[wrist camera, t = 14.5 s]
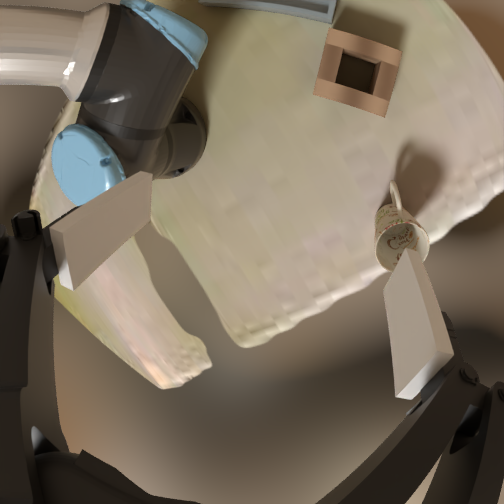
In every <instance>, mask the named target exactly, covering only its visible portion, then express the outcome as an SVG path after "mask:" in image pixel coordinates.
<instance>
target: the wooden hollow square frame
mask: <svg viewBox="0 0 504 504" xmlns="http://www.w3.org/2000/svg"><path fill="white" fill-rule="evenodd" d="M342 54H345V55H349V56H352V57H355V58H358V59H361V60H364V61H367V62H370V63H373V64H375V66H374V70H373V74H372V78H371V82H370V86H369V90H368V93H365V92H362V91H359V90H356V89H353V88H350V87H346V86H343V85H340V84H337V83H335V80H336V76H337V72H338V68H339V64H340V60H341V56H342ZM401 56H402V51H399V50H397V49H394V48H392V47H389V46H386V45H384V44H381V43H378V42H375V41H372V40H369V39H366V38H363V37H360V36H357V35H353V34H350V33H347V32H343V31H340V30H336V29H332V28H329V30H328V34H327V38H326V42H325V47H324V51H323V55H322V59H321V63H320V67H319V71H318V75H317V80H316V84H315V88H314V92H313V95H317V96H320V97H324V98H327V99H331V100H334V101H337V102H341V103H344V104H347V105H350V106H353V107H356V108H359V109H362V110H365V111H368V112H371V113H374V114H376V115H379V116H382V117H384V118H385V115H386V112H387V109H388V105H389V102H390V98H391V94H392V91H393V87H394V83H395V80H396V76H397V72H398V68H399V64H400V60H401Z"/></svg>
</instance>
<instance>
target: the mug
mask: <svg viewBox="0 0 504 504" xmlns="http://www.w3.org/2000/svg"><path fill="white" fill-rule="evenodd" d="M390 194H391V199H392V203H393V204H387V205H385V206H383V207H381V208H380V209H379V211H378V212H377V214H376V217H375V256H376V259H377V261H378V262H379V264H380V265H381V266H382V267H383V268H384V269H386V270H387V271H390V272H393V271H394V269H395V267H396V265H397V263H398V261H399V259H400V258H401V256H402V253H403V251H404V249H405V248H408V249H411V250H414V251H417V252H418V253H419V255H420V257H421V260H422V262H424V260H425V259H426V257H427V255H428V252H429V238H428V235H427V233H426V232H425V230H424V229H423V228H422V226H421V225H420V224H419V223H418V222H417V221H416V220H415V219H414V218H413V217H412V216H411V215H410V214H409V213H408V212H407V211H406V210H405V209H404V208H403V207H402V204H401V198H400V194H399V191H398V187H397V185H396V183H395V181H393V180H392V181H391V182H390Z"/></svg>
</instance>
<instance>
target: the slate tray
mask: <svg viewBox="0 0 504 504" xmlns="http://www.w3.org/2000/svg"><path fill="white" fill-rule="evenodd" d="M198 2H199V3H201V4H203V5H204V6H214V7H231V8H242V9H252V10H260V11H268V12H274V13H281V14H286V15H292V16H297V17H302V18H307V19H312V20H316V21H320V22H325V23H329V24H332V21H333V16H334V12H335V8H336V3H337V0H199V1H198Z"/></svg>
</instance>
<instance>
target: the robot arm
mask: <svg viewBox="0 0 504 504" xmlns="http://www.w3.org/2000/svg"><path fill="white" fill-rule="evenodd" d="M207 44H208V37H207V34H206V33H205V31H204V30H203V29H201V28H200V27H199V26H197V25H195V24H194V23H192V22H190V21H189V20H187V19H185V18H183V17H181V16H180V15H178V14H176V13H174V12H172V11H170V10H167V9H165V8H163V7H161V6H158V5H155V4H153V3H151V2H148V1H146V0H121V1H120V5H116V4H111V3H107V2H104V3H102V4H100V5H98V6H96V7H94V8H92V9H90V10H89V11H86V12H82V11H75V10H68V9H60V8H51V7H40V6H22V5H0V84H24V85H49V86H59V87H60V88H62V89H63V91H64V92H65V94H66V95H67V97H68V98H69V100H70V101H75V102H82V103H81V106H80V110H79V113H78V117H77V120H76V123H75V124H71V125H68V126H67V127H65V129H64V130H63V131H61V132H60V133H59V134H58V135H57V137H56V138H55V140H54V143H53V147H52V157H51V158H52V167H53V171H54V174H55V177H56V180H57V181H58V183H59V185H60V188H61V189H62V191H63V192H64V194H65V195H66V196H67V197H68V198H69V200H70V201H72V202H73V203H74V204H75V205H77V207H75V208H73V209H71V210H70V211H68V212H67V214H66V213H65V214H64V215H62V216H61V218H60V217H59V218H58V219H56V220H55V221H53V222H52V223H50V224H49V225H48V226H46V227H45V228H43V229H42V224H41V218H40V213H39V212H38V211H36V210H25V211H22V212H19V213H17V214H16V215H15V216H14V217H13V218H12V219H11V222H12V227H13V232H14V236H8V235H7V231H6V227H5V226H4V225H1V224H0V504H200V503H197V502H193V501H184V500H177V499H170V498H163V497H158V496H153V495H150V494H148V493H146V492H145V491H144V490H142V489H141V488H140V487H138V486H137V485H136V484H134V483H133V482H132V481H131V480H129V479H128V478H127V477H125V476H124V475H123V474H122V473H121V472H119V471H118V470H117V469H116V468H114V467H112V466H111V465H109V464H107V463H105V462H103V461H101V460H100V459H98V458H96V457H94V456H93V455H91V454H89V453H87V452H86V451H84V450H82V451H81V453H80V454H76V453H71V452H69V449H68V445H67V443H66V440H65V437H64V435H63V433H62V430H61V426H60V421H59V413H58V406H57V397H56V386H55V373H54V353H53V307H54V287H55V285H54V280H53V278H54V277H55V276H56V275H57V274H59V278H60V282H61V285H63V286H65V287H67V288H69V289H71V290H73V291H74V290H75V289H76V288H77V287H78V286H79V285H80V284H81V283H82V282H83V281H84V280H85V279H87V278H88V277H89V276H90V275H91V274H92V273H93V272H94V271H95V270H96V269H97V268H98V267H99V266H100V265H101V264H102V263H103V262H104V261H105V260H106V259H108V258H109V257H110V256H111V255H112V254H113V253H114V252H115V251H116V250H117V249H118V248H120V247H121V246H122V245H123V244H124V243H125V242H126V241H127V240H128V239H130V238H131V237H132V236H133V235H134V234H135V233H136V232H137V231H139V230H140V229H141V228H142V227H143V226H144V225H145V224H147V223H148V222H149V221H150V220H151V194H152V181H153V180H154V179H170V178H174V177H177V176H180V175H182V174H184V173H185V172H187V171H188V170H190V169H191V168H192V167H194V166H195V165H196V163H197V162H198V161H199V159H200V158H201V156H202V154H203V151H204V148H205V144H206V128H205V124H204V121H203V118H202V116H201V114H200V112H199V111H198V109H197V108H196V107H195V106H194V105H193V104H192V103H191V102H190V101H188V100H187V99H185V98H183V97H182V95H183V93H184V90H185V88H186V86H187V84H188V83H189V81H190V79H191V77H192V75H193V73H194V71H195V70H197V69H198V66H199V65H198V63H199V61H200V59H201V57H202V55H203V53H204V51H205V49H206V47H207ZM383 293H384V299H385V306H386V312H387V319H388V326H389V333H390V342H391V350H392V360H393V370H394V383H395V396H396V397H399V398H405V399H412V398H414V397H415V396H416V395H417V394H418V393H419V392H420V391H421V398H422V399H421V400H420V401H419V402H418V403H417V404H416V405H415V406H414V407H412V408H411V409H410V410H409V411H408V412H407V413H406V414H407V416H406V417H405V418H404V420H403V421H402V422H401V423H400V424H399V425H398V427H397V428H396V429H395V430H394V431H393V432H392V433H391V434H390V436H388V438H387V439H386V440H385V441H384V442H383V443H382V444H381V445H380V446H379V447H378V448H377V449H376V450H375V451H374V452H373V453H372V454H371V455H370V456H369V457H368V458H367V459H366V460H365V461H364V462H363V463H362V464H361V465H360V466H359V467H358V468H357V469H356V470H355V471H353V472H352V473H351V474H350V475H349V476H348V477H347V478H346V479H345V480H343V481H342V482H341V483H340V484H339V485H338V486H337V487H335V488H334V489H333V490H332V491H331V492H329V493H328V494H327V495H326V496H325V497H324V498H322V499H321V500H319V501H318V502H317V503H316V504H405V503H406V502H407V501H408V499H409V498H410V497H411V496H412V494H413V493H414V492H415V491H416V489H417V488H418V486H419V485H420V484H421V483H422V481H423V480H424V479H425V477H426V476H427V475H428V473H429V472H430V470H431V469H432V468H433V466H434V465H435V463H436V462H437V460H438V459H439V457H440V456H441V454H442V456H441V459H440V461H439V464H438V467H437V469H436V472H435V474H434V477H433V479H432V482H431V484H430V486H429V489H428V491H427V493H426V496H425V498H424V500H423V502H422V504H497V503H498V499H499V496H500V492H501V488H502V483H503V479H504V383H503V382H496V383H495V384H494V385H493V386H492V387H491V388H488V387H486V386H484V385H483V384H481V383H479V382H480V381H479V377H478V374H477V372H476V370H475V369H474V368H473V367H472V366H471V365H469V364H468V363H466V362H464V360H463V357H462V353H461V350H460V346H459V343H458V340H457V339H456V338H457V337H456V334H455V332H454V328H453V325H452V322H451V320H450V319H449V317H448V316H447V314H446V313H445V312H442V311H441V310H440V307H439V304H438V302H437V299H436V296H435V293H434V291H433V288H432V285H431V283H430V280H429V278H428V275H427V272H426V270H425V267H424V265H423V262H422V260H421V257H420V255H419V253H418V252H417V251H414V250H411V249H408V248H405V249H404V251H403V253H402V256H401V258H400V259H399V261H398V263H397V265H396V267H395V269H394V271H393V273H392V275H391V277H390V279H389V281H388V282H387V284H386V286H385V288H384V290H383Z"/></svg>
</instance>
